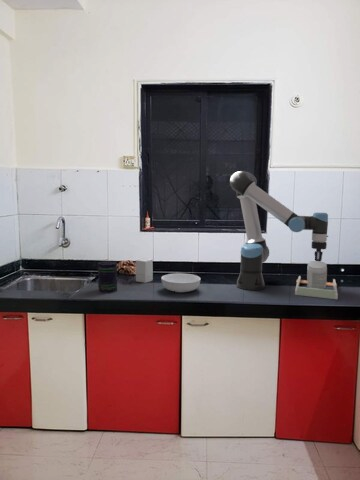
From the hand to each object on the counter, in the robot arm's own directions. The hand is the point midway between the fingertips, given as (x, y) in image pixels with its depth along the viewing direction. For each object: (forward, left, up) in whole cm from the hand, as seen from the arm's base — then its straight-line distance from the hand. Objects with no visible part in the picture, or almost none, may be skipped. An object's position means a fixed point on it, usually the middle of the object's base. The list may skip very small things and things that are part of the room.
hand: (316, 283), depth 193 cm
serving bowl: (-67, -33, -3) cm, 75 cm away
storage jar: (-102, -49, -3) cm, 113 cm away
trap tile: (0, +12, -3) cm, 12 cm away
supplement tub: (0, -7, -2) cm, 7 cm away
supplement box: (-94, -23, -3) cm, 97 cm away
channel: (0, -1, -3) cm, 3 cm away
